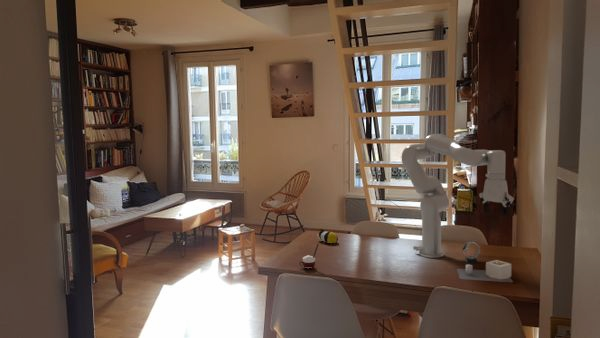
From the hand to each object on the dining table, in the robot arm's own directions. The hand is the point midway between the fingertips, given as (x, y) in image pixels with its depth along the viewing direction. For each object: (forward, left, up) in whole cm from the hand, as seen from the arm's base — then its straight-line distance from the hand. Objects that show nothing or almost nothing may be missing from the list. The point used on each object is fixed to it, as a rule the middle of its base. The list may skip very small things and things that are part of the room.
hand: (495, 213), depth 196 cm
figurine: (-88, +33, -27) cm, 98 cm away
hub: (-1, -15, -25) cm, 29 cm away
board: (-7, -15, -26) cm, 31 cm away
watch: (-10, +5, -26) cm, 29 cm away
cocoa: (-86, -16, -26) cm, 91 cm away
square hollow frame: (-1, -15, -25) cm, 29 cm away
